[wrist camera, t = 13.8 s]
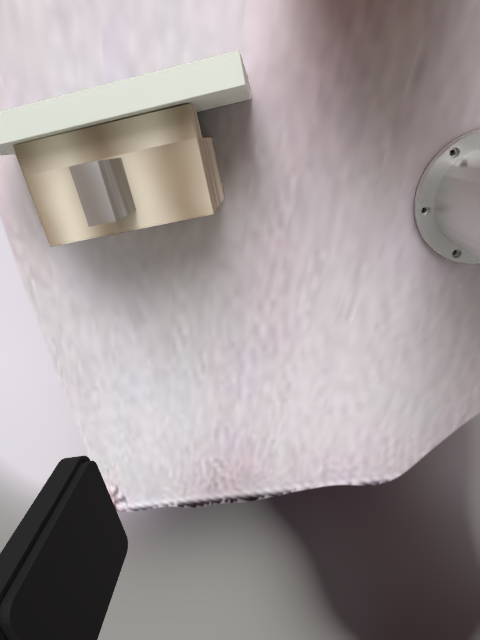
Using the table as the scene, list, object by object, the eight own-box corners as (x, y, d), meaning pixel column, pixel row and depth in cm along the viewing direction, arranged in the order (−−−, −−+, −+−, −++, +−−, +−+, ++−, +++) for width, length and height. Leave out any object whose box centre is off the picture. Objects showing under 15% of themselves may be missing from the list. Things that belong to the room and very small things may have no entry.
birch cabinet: (206, 111, 40) (175, 97, 27) (225, 197, 43) (205, 226, 30) (68, 143, 42) (-29, 146, 28) (94, 224, 45) (18, 262, 31)
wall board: (247, 74, 39) (239, 50, 28) (251, 99, 40) (245, 84, 29) (15, 132, 42) (-75, 130, 31) (23, 153, 43) (-62, 159, 32)
